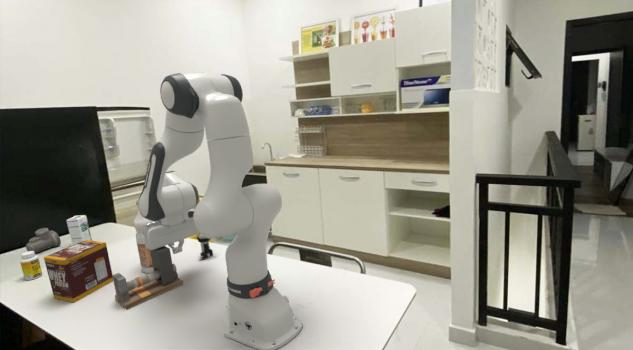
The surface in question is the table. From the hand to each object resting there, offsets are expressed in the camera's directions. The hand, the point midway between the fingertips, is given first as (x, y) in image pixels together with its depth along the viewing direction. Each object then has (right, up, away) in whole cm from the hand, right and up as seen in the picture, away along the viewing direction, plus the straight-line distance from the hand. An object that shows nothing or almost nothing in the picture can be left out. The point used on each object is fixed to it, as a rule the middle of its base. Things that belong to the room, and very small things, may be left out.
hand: (177, 252), depth 127 cm
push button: (+4, -6, +18) cm, 20 cm away
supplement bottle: (-61, -12, +11) cm, 63 cm away
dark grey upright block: (-3, -9, -3) cm, 10 cm away
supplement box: (-33, -13, -1) cm, 35 cm away
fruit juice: (-14, -9, +12) cm, 20 cm away
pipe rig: (-7, -12, -6) cm, 15 cm away
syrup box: (-61, -6, +40) cm, 73 cm away
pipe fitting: (-78, -8, +38) cm, 87 cm away
